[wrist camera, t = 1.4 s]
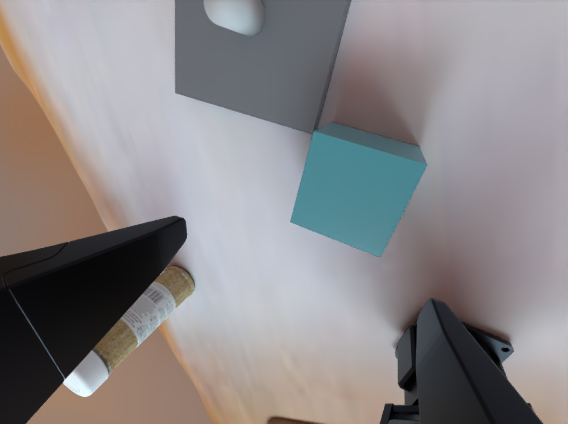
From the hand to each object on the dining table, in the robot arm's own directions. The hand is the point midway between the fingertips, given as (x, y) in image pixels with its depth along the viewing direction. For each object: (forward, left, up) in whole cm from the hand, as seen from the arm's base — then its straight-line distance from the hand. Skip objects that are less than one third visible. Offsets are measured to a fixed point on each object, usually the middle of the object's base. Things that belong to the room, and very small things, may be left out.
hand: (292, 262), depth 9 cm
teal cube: (-1, 0, -12) cm, 12 cm away
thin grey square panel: (+9, -8, -12) cm, 17 cm away
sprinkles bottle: (+15, +20, -12) cm, 28 cm away
